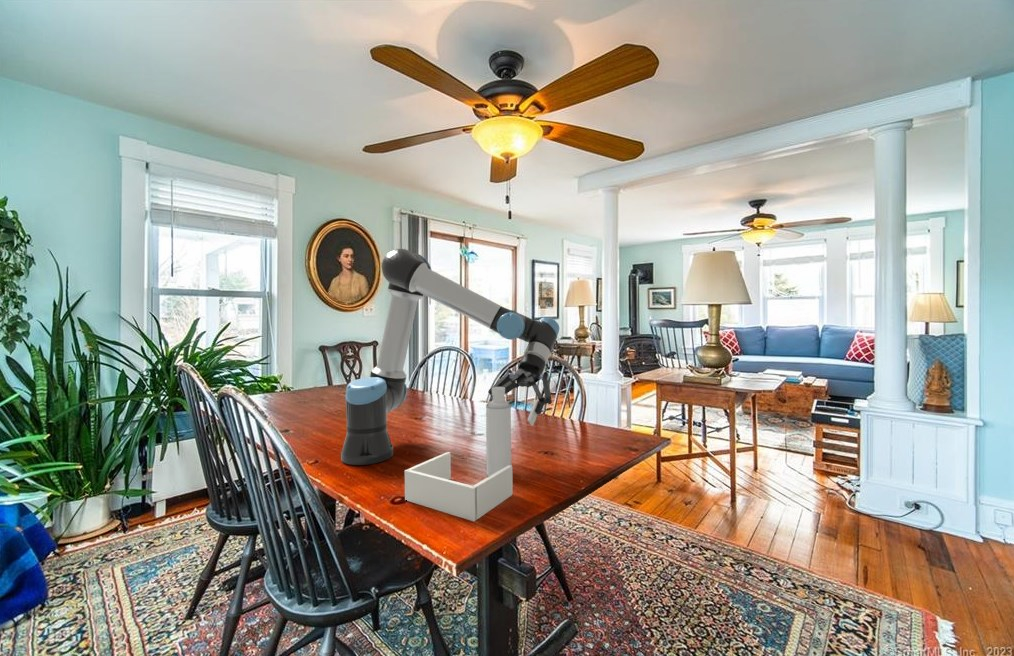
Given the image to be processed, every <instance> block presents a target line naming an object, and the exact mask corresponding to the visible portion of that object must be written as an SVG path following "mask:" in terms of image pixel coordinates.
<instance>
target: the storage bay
mask: <svg viewBox="0 0 1014 656" xmlns="http://www.w3.org/2000/svg"><path fill="white" fill-rule="evenodd" d="M451 456H452V455H451V452H449V451H446V452H445V453H442V454H440V455H437V456H435V457H433V458H430V459H428V460H425V461H423V462H421V463H419V464H416V465H414V466H412V467H410V468H409V467H408V468H407V469H404V501H406V500H407V502H410V503H414V504H416V505H419V506H422V507H427V508H429V509H433V510H435V511H438V512H442V513H445V514H449V515H452V516H455V517H458V518H462V519H465V520H467V521H471V522H476V521H477V520H478V519H480V518H481V517H483V516H484V515H485V514H487V513H489V512H490V511H491V510H493V509H494V508H495V507H497V506H498V505H500V504H502V503H503V502H504V501H506V500H507V499H509V498H510V497H512V495H514V494H513V493H514V492H513V490H514V489H513V488H514V487H513V480H514V479H513V465H512V464H511V465H508V466H506V467H505V468H503V469H501V470H499V471H498V472H496V473H494V474H492V475H491V476H488V477H485V478H484V479H482V480H481V481H479V482H477V483H475V484H473V485H472V484H471V485H470V484H467V483H462V482H460V481H456V480H452V475H451V474H452V473H451V472H452V468H451V467H452V466H451V465H452V464H451V463H452V462H451V460H452V459H451V458H452V457H451Z"/></svg>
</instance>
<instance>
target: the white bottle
mask: <svg viewBox="0 0 1014 656" xmlns="http://www.w3.org/2000/svg"><path fill="white" fill-rule="evenodd" d="M491 388H492V396H493V401H490V400H489V402H488V403H486V405H485V410H486V411H485V412H486V413H485V421H486V422H485V423H486V424H485V428H486V429H485V430H486V431H485V437H486V441H485V444H486V445H485V446H486V448H485V449H486V450H485V452H486V453H485V454H486V461H485V463H486V475H487V476H488V477H489V476H491V475H492V474H494V473H496V472H498V471H499V470H501V469H503V468H505V467H506V466H508V465H511V466H512V410H511V409H512V405H511V404H510V403H509V401H507V400H505V396H506V394H505V387H493V386H492V387H491Z"/></svg>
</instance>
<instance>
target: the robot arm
mask: <svg viewBox="0 0 1014 656" xmlns="http://www.w3.org/2000/svg"><path fill="white" fill-rule="evenodd" d="M381 272H382V276H383V277H384V279H385V280H386V281H387V282H388V287H387V290H388V292H389V294H390V296H391V297H390V302H389V306H388V311H387V317H386V320H385V327H384V331H383V335H382V340H381V345H380V349H379V350H380V351H379V354H378V359H377V364H376V366H375V367H373V368H371V369H370V370H371V371H370V374H369V377H362V378H358V379H354V380H352V381H350V382H349V383H348V384H347V386H346V389H345V395H344V397H345V408H346V409H345V410H346V411H345V414H346V415H345V416H346V417H345V418H346V436H345V438H344V443H343V446H342V449H341V452H340V461H341V462H342V463H344V464H347V465H351V466H364V465H366V466H367V465H374V464H379V463H381V462H385V461H387V460H389V459H391V458H392V457H393V455H394V446H393V444H392V441H391V437H390V435H389V432H388V414H389V413H391V412H392V411H395V410H396V409H398V408H399V407H400V406H401V405H402V404H403V403H404V401H405V400H406V397H407V394H408V386H407V384H406V379H407V373H406V372H405V370H404V367H405V363H406V358H407V354H408V349H409V343H410V339H411V333H412V329H413V325H414V321H415V316H416V315H415V314H416V310H417V305H418V301H419V300H421V299H422V298H424V296H425V297H428V298H430V299H431V300H432V301H433V300H434V301H435V302H437V303H439V304H441V305H443V306H445V307H446V308H448V309H451V310H452V311H455V312H457V313H459V314H461V315H462V316H464V317H466V318H468V319H470V320H472V321H474V322H476V323H479V324H480V325H482V326H484V327H486V328H488V329H490V330H492V331H493V332H495V333H497V334H498V335H500V336H501V337H502V338H504V339H506V340H511V341H512V340H516V339H519V340H521V341H524V342H527V343H528V344H527V346H526V348H525V350H524V352H523V356H521V359H520V361H519V364H518V369H517V370H515V371H512V369H511V368H509V369H507V371H506V372H505V374H504V375H503V376H502V377H501V378H500V379H499V380H498V381H497V382H496V383H495V384H494V385H492V387H505V395H507V394H508V393H510V392H511V391H513V390H515V389H517V388H519V387H522V388H524V387H526V388H530V387H532V388H533V390H534V392H535V396H536V397H537V399H535V400H534V403H533V405H532V407H531V410H530V412H529V414H528V417H527V422H528V423H529V425H530V426H532V427H533V426H534V425H535V422H536V420H537V417H538V415H540V414H541V413H542V411H543V408H544V406H545V405H547V404H548V405H551V404H553V401H552V394H551V389H550V381H551V377H550V374H549V373H548V372H547V371H544V370H545V368H546V365H547V363H548V360H549V358H550V356H551V353H552V351H553V348H554V346H555V344H556V341H557V338H558V336H559V335H558V334H559V332H560V325H559V323H558V322H557V320H555V319H553V318H551V317H541V318H539V320H537V319H533V318H530V317H528V316H526V315H524V314H521V313H520V312H517V311H516V310H513V309H509V308H506V307H504V306H502V305H500V304H498V303H496V302H495V301H493V300H491V299H488V298H487V297H484V296H483V295H481V294H479V293H478V292H475V291H473V290H471V289H469V288H467V287H465V286H463V285H462V284H459V283H457V282H455V281H453V280H451V279H450V278H448V277H445V276H444V275H442V274H440V273H438V272H436V271H433V270H432V266H431V264H430V263H429V261H428V260H427V259H426V258H425V257H423V256H422V254H418V253H415V252H413V251H411V250H408V249H406V248H395V249H392V250H390V251H388V252H387V253H386V254H385V256H384V257H383V259H382V262H381ZM540 381H542V387H543V394H544V396H543V394H542V393H541V391H540V389H539V386H538V384H537V383H538V382H540ZM492 387H490V388H489V389H488V393H489V396H490V397H491V398H490V400H489V402H490V401H493V396H492Z"/></svg>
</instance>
